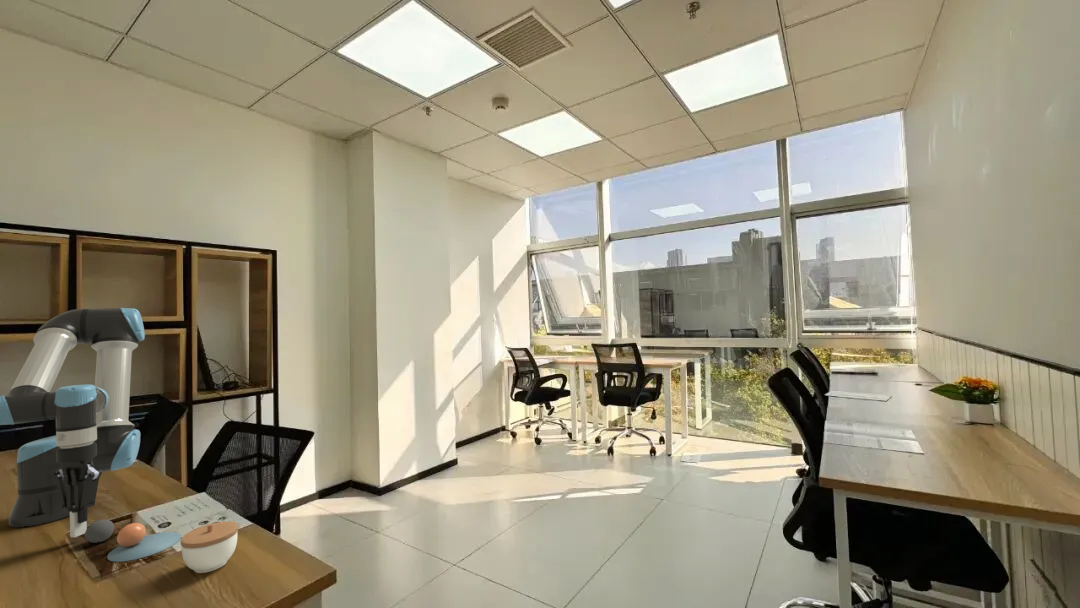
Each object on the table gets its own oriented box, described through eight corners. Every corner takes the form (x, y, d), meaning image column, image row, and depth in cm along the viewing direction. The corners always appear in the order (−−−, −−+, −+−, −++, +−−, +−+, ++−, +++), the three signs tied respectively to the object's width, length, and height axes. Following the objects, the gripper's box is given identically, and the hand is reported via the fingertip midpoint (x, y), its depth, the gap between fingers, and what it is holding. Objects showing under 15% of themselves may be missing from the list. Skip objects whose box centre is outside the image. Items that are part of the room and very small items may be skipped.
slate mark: (92, 557, 110) (92, 556, 110) (156, 530, 123) (156, 529, 123) (132, 565, 106) (132, 564, 106) (193, 536, 119) (193, 535, 119)
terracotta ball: (118, 523, 113) (133, 536, 112) (140, 515, 118) (155, 527, 117) (107, 542, 113) (122, 555, 112) (129, 533, 118) (144, 545, 117)
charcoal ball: (100, 521, 116) (100, 543, 115) (119, 514, 121) (120, 536, 120) (78, 525, 116) (78, 548, 115) (98, 518, 121) (99, 540, 120)
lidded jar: (201, 555, 109) (200, 516, 109) (248, 551, 110) (247, 512, 110) (169, 581, 98) (168, 538, 99) (221, 577, 99) (220, 534, 99)
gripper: (39, 448, 116) (40, 540, 116) (79, 449, 114) (81, 543, 113) (74, 440, 123) (75, 526, 123) (112, 440, 121) (114, 529, 121)
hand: (78, 534), depth 118 cm, fingers closed
